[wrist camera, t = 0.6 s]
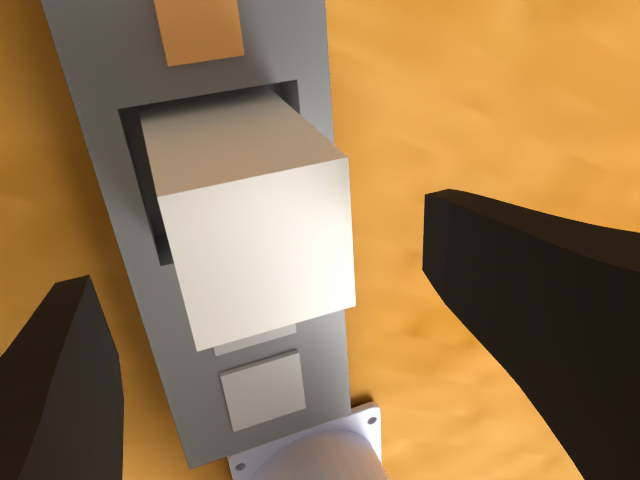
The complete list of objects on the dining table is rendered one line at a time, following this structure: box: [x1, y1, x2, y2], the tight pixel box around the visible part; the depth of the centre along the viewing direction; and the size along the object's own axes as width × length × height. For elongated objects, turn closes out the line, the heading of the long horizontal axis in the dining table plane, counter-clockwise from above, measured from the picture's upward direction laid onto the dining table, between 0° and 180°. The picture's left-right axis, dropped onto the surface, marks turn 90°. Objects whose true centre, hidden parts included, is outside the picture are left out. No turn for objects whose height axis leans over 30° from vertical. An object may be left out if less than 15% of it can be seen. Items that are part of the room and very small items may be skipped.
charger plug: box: [138, 85, 356, 352], centre depth 15 cm, size 4×4×7 cm
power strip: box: [41, 0, 351, 470], centre depth 18 cm, size 18×7×3 cm, turn 4°
